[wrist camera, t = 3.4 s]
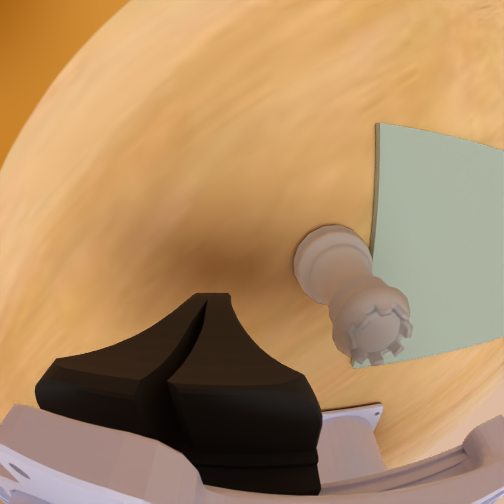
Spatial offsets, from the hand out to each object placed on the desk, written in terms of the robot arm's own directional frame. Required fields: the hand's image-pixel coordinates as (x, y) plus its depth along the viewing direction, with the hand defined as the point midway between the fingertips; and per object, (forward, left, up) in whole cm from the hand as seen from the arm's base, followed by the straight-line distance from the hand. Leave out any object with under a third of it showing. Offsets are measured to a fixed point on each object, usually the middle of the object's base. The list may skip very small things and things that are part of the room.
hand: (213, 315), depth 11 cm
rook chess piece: (0, -6, -6) cm, 9 cm away
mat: (0, -17, -6) cm, 18 cm away
